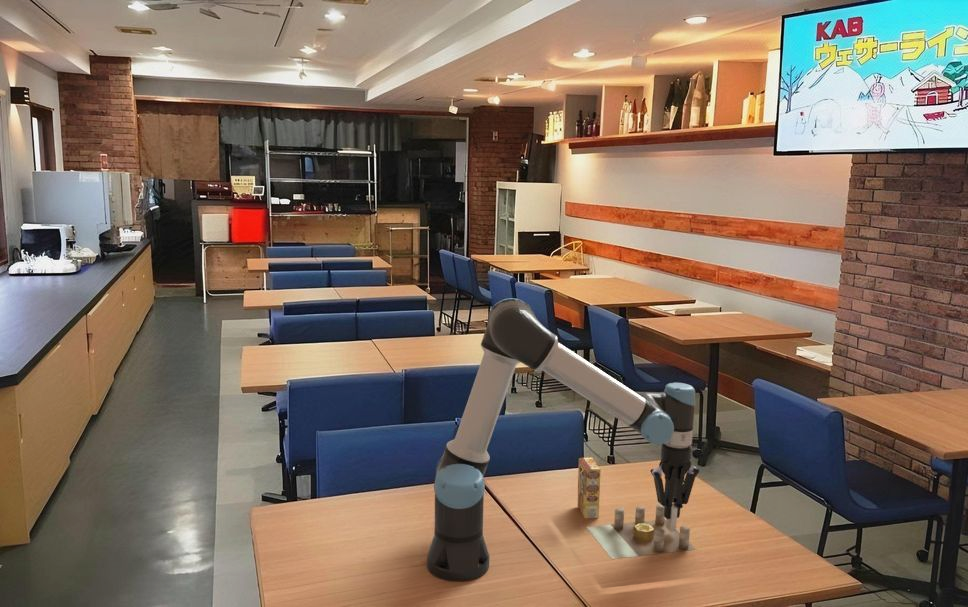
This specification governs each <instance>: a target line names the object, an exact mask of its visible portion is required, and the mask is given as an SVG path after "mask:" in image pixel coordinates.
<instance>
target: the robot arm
mask: <svg viewBox="0 0 968 607" xmlns="http://www.w3.org/2000/svg"><path fill="white" fill-rule="evenodd" d="M480 347H481V349H482V352H483V356H482V358H481V362H480V363H479V364H480V365H479V367H478V369H477V373H476V376H475V379H474V382H473V385H472V387H471V389H470V390H471V391H470V393H469V396H468V400H467V403H466V405H465V408H464V411H463V413H462V417H461V420H460V422H459V425H458V428H457V432H456V434H455V436H454V439H452V440H450V441H448V442H447V443H446V445H445V448H444V450H443V454H442V456H441V457H440V459H439V460H438V463H437V465H436V468H435V480H434V484H433V489H434V490H433V491H434V534H433V535H434V536H433V537H432V540H431V543H430V545H429V549H428V551H427V553H426V554H427V555H426V568H427V570H428V572H429V573H430V574H431V575H433V576H435V577H437V578H439V579H442V580H444V581H445V580H446V581H452V582H466V581H471V580H475V579H478V578H480V577H482V576H484V575H485V573H487V572H488V570H489V569H490V552H489V550H488V547H487V544H486V540H485V537H484V529H483V528H484V497H485V496H484V494H485V488H486V486H485V480H484V476H485V473H486V471H487V467H488V464H489V462H490V460H491V459H490V458H491V457H490V454H489V453H488V451H487V450H488V447H489V444H490V442H491V439H492V435H493V433H494V430H495V427H496V424H497V421H498V419H499V416H500V413H501V410H502V407H503V404H504V401H505V399H506V396H507V392H508V389H509V386H510V384H511V382H512V379H513V378H512V377H513V376H514V373H515V370H516V367H517V365H518V364H520V363H522V364H523V365H525V366H526V367H529V368H530V369H531V370H533V371H540V370H541V371H542V372H544V373H545V374H547V375H548V376H550V377H551V378H553V379H555V380H557V381H558V382H559V383H562V384H563V385H565V386H566V387H568V388H569V389H571V390H572V391H573V392H576V394H578V395H579V396H581V397H583V398H585V399H586V400H588V401H589V402H591V403H592V404H594V405H596V406H597V407H599V408H600V409H602V410H604V411H605V412H606V413H609V415H611V416H613V417H615V418H616V419H618V420H619V421H621V422H622V423H624V424H626V425H627V426H628V427H629V428H631V429H633V430H634V431H636V432H637V433H638V434H640V435H641V436H642V438H643V439H644V440H646V441H647V442H648V443H650V444H652V445H657V446H659V445H661V449H660V458H661V459H660V462H659V464H658V465H659V466H658V467H656V468H655V469H654V468H651V469H650V474H651V476H652V477H653V481H654V488H655V492H656V498H657V503H658V504H661V505H662V506H664V517H665V520H666V528H667V529H668V530H669V531H670V532H674V531H676V530H677V522H678V518H680V514H681V509H683V507H684V505H687V504H688V503H689V499H690V496H691V492H692V489H693V487H694V482H695V480H696V477H697V475H699V472H700V470H699V468H697V467H696V466H695V465H692V462H691V459H692V448H693V447H692V444H693V433H694V421H695V420H694V419H695V409H696V389H695V388H694V387H693V386H692V385H690V384H687V383H683V382H670V383H668V384H666V385H665V388H664V391H660V392H657V391H634V390H633V389H631V388H629V387H628V386H626V385H624V384H623V383H621V382H620V381H618V380H617V379H615V378H614V377H612V376H611V375H609V374H607V373H606V372H605V371H603V370H602V369H600V368H599V367H597V366H595V365H594V364H592V363H591V362H589V361H587V359H585V358H583V357H582V356H580V355H579V354H577V353H575V352H574V351H573V350H572V349H570V348H568V347H567V346H565V345H563V344H562V343H561V342H559V340H558V335H556V334H555V333H553V332H551V331H550V330H549V329H547V327H545V326H544V325H543V324H542V322H540V320H538V319H537V317H536V313H535V312H534V310H533V308H532V307H531V306H530V305H529V304H528V303H526V302H525V301H523V300H522V299H519V298H513V297H511V298H509V297H508V298H505V299H501V300H499V301H498V302H495V303H494V305H493V306H492V307H491V309H490V311H489V313H488V316H487V324H486V328H485V331H484V334H483V337H482V340H481V343H480ZM663 475H664V481H665V482H663V478H662V477H663Z"/></svg>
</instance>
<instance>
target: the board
mask: <svg viewBox="0 0 968 607" xmlns="http://www.w3.org/2000/svg"><path fill="white" fill-rule="evenodd" d="M645 513H646V508H645V507H644V506H643V505H636V506H635V517H634V521H633V522H631V521H630V522H625V509H624V508H621V507H616V508H615V509H614V524H613V523H612V524H605V525H603V524H602V525H594V526H586V529H587V531H588V532H590V534H591V535H592V536H593V537H594V539H595V540H596V541H597V543H598V544H599V545H600V546H601V547H602V548H603V550H604V551H605V552H606V554H607V555H608V556H609V558H610V559H611V560H617V559H624V558H635V557H643V556H644V557H645V556H652V555H653V556H654V555H660V554H670V553H679V552H688V551H696V550H698V549H697V548H696V547H695V546H694V545H692V544H691V543H690V533H691V532H690V531H691V528H690V527H688V526H685V525H681V526H680V527H679V531H678V530H677V529H676V531H674V532H670V531H669V530H668V529H667V528H666V518H665V517H664V506H662V505H661V504H660V503H658V504H656V507H655V519H653V520H645ZM639 523H643V524H650V525H651V526H652V527H653V528H654V537H653V540H651V541H649V542H643V541H638V540H637V539H636V538H635V537H634V536H633V535H634V526H635V525H637V524H639Z"/></svg>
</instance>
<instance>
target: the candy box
mask: <svg viewBox="0 0 968 607" xmlns="http://www.w3.org/2000/svg"><path fill="white" fill-rule="evenodd" d="M601 469H602V468H600V466H599V465H598V464H597V463H596V461H595V459H594V458H593V457H579V458H578V469H577V470H578V473H577V474H578V477H577V505H576V506H577V509H579V511H580V513H581V515H582V516H583V517H584V519H599V517H600V516H599V515H600V494H601V493H600V492H601V487H600V486H601V471H602V470H601Z"/></svg>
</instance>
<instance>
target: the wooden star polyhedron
mask: <svg viewBox="0 0 968 607" xmlns="http://www.w3.org/2000/svg"><path fill="white" fill-rule="evenodd" d="M633 536H634V537H635V538H636V539H637V540H638V541H643V542H649V541H651V540H653V537H654V528H653V527H652V526H651V525H650V524H643V523H639V524H637V525H635V526H634V535H633Z"/></svg>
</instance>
